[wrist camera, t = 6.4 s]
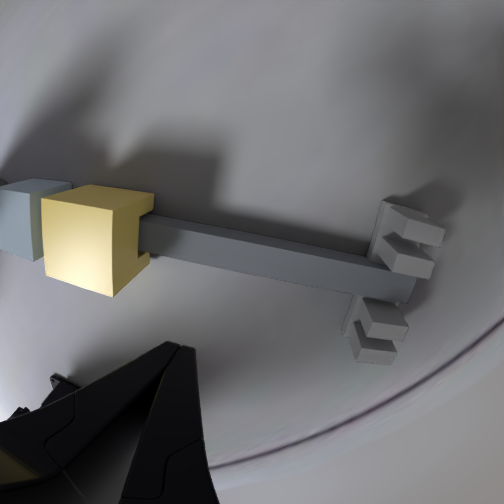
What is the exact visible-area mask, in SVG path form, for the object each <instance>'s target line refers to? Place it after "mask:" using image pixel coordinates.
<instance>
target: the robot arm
mask: <svg viewBox="0 0 504 504" xmlns="http://www.w3.org/2000/svg"><path fill="white" fill-rule="evenodd" d="M50 381H51V384H52V387H53V390H52V391H51V393H50V394H49V395H48V396H47V398H46V399H45V400H44V401H43V402H42V404H41V405H42V406H41V407H40V408H39V409H36V410H34V411H31V412H30V410H29V409H28V408H27V407H25V408H24V409H23V408H21V407H18V408H17V410H16V411H15V412H14V413H13V414H12V415H11V417H10V418H9V419H8V420H6V421H3V422H0V504H220V503H219V500H218V497H217V494H216V492H215V489H214V485H213V482H212V479H211V475H210V472H209V467H208V462H207V457H206V450H205V442H204V435H203V427H202V417H201V408H200V398H199V387H198V375H197V362H196V350H195V348H193V347H189V346H185V345H182V346H180V344H177V343H174V342H170V341H166V342H164V343H162V344H160V345H159V346H157V347H155V348H153V349H152V350H150V351H148V352H146V353H144V354H143V355H141V356H139V357H137V358H136V359H134V360H132V361H130V362H128V363H127V364H125V365H123V366H121V367H119V368H118V369H116V370H114V371H112V372H110V373H108V374H107V375H105V376H103V377H101V378H99V379H97V380H95V381H94V382H92V383H90V384H88V385H86V386H84V387H82V388H78V387H76V386H74V385H72V384H70V383H68V382H66V381H64V380H62V379H60V378H58V377H56V376H54V375H52V376H51V377H50Z"/></svg>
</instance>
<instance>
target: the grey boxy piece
mask: <svg viewBox="0 0 504 504" xmlns="http://www.w3.org/2000/svg"><path fill="white" fill-rule="evenodd" d="M428 217H429V215H428V214H426V213H424V212H421V211H418V210H415V209H411V208H408V207H404V206H401V205H397V204H394V203H390V202H387V201H383V200H382V202H381V206H380V210H379V214H378V217H377V221H376V225H375V228H374V232H373V236H372V239H371V243H370V246H369V250H368V253H367V256H366V257H367V259H368V260H369V262H374V263H379V264H383V265H387V266H388V267H389V269H390V270H391V271H392V272H396V273H401V274H405V275H410V276H415V277H419V278H424V279H430V276H431V273H432V271H433V268H434V265H435V261H433V260H432V259H431V258H430V257H429V256H428V255H427V254H425V253H424V252H423V251H422V250H421V249H419V247H420V244H421V243H424V244H428V245H431V246H435V247H439V248H440V247H441V244H442V241H443V238H444V234H445V231H446V229H444V228H442V227H441V226H439V225H437V224H435V223H434V222H432V221H430V220H428ZM399 303H400V302H394V301H388V300H383V299H377V298H371V297H366V296H360V295H355V294H354V296H353V299H352V302H351V305H350V308H349V311H348V313H347V316H346V319H345V322H344V324H343V327H342V330H341V331H342V334H343V337H349V339H350V343H351V346H352V350H353V354H354V357H355V361H356V362H365V363H375V364H385V365H391V363H392V361H393V360H394V358H395V356H396V354H397V351H396V349H395V346H394V344H393V342H392V340H394V341H403V340H404V337H405V335H406V333H407V331H408V329H409V326H408V324H407V323H406V321H405V319H404V318H403V316H402V314H401V313H400V311H399V309H398V306H399Z"/></svg>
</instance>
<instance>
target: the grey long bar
mask: <svg viewBox="0 0 504 504" xmlns="http://www.w3.org/2000/svg"><path fill="white" fill-rule="evenodd" d="M71 189H72V183H71V182H63V181H55V180H46V179H37V178H32V179H28V180H24V181H19V182H15V183H11V184H8V185H4V186H0V250H3V251H5V252H8V253H11V254H13V255H16V256H19V257H22V258H24V259H27V260H30V261H33V262H34V261H36V260H38V259H39V258H41V257H43V256H44V251H43V237H42V216H41V198H43V197H47V196H50V195H53V194H57V193H60V192H64V191H67V190H71ZM138 250H139V251H143V252H148V253H152V254H157V255H161V256H166V257H170V258H175V259H180V260H184V261H189V262H193V263H198V264H203V265H208V266H212V267H217V268H222V269H227V270H232V271H236V272H241V273H246V274H251V275H256V276H261V277H266V278H271V279H276V280H281V281H286V282H291V283H296V284H302V285H307V286H312V287H317V288H323V289H328V290H333V291H339V292H344V293H349V294H355V295H360V296H366V297H371V298H377V299H383V300H388V301H394V302H400V303H406V304H407V303H408V301H409V298H410V296H411V293H412V291H413V288H414V286H415V283H416V280H417V278H418V277H415V276H410V275H405V274H401V273H396V272H392V271H391V270H390V269H389V267H388V266H387V265H383V264H379V263H374V262H369V260H368V259H367V257H364V256H360V255H355V254H350V253H346V252H341V251H336V250H332V249H327V248H322V247H317V246H312V245H308V244H303V243H298V242H293V241H288V240H283V239H278V238H273V237H268V236H263V235H258V234H253V233H248V232H243V231H238V230H232V229H227V228H222V227H217V226H212V225H206V224H201V223H196V222H191V221H185V220H180V219H174V218H169V217H163V216H158V215H152V214H147V213H145V214H143V215H142V216H140V217H139V232H138Z"/></svg>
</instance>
